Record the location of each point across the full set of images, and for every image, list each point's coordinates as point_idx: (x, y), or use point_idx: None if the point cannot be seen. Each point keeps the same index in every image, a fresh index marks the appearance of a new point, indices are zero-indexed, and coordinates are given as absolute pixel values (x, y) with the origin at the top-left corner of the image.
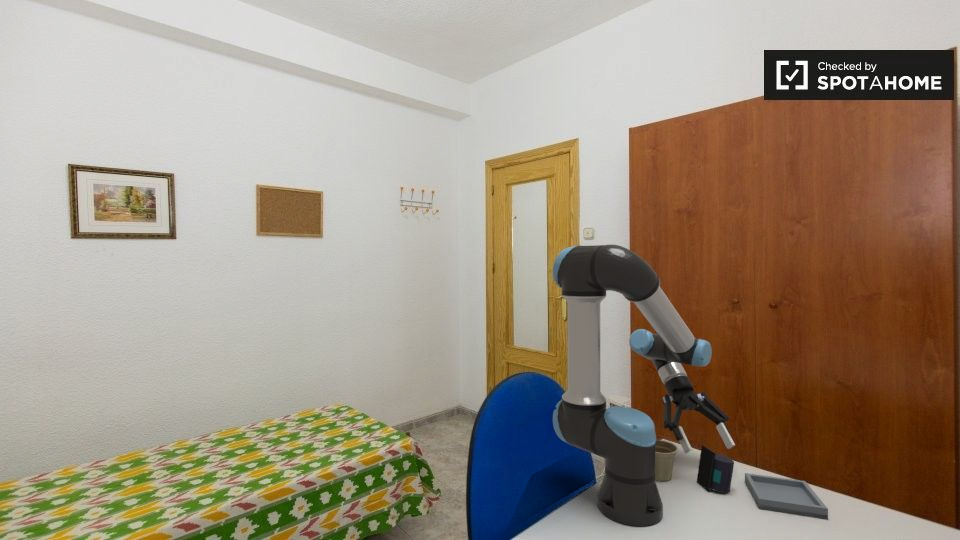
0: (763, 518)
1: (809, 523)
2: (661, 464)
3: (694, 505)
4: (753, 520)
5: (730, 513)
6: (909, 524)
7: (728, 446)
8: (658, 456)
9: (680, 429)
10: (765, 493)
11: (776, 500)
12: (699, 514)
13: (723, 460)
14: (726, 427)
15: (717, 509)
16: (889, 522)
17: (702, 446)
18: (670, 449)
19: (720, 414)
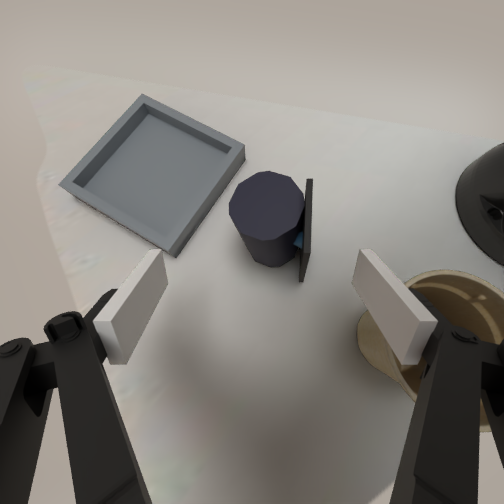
0: (264, 134)
1: (195, 109)
2: (435, 295)
3: (372, 194)
4: (288, 133)
5: (315, 158)
6: (32, 79)
7: (164, 275)
8: (472, 290)
9: (423, 307)
10: (190, 185)
11: (213, 133)
12: (380, 166)
13: (275, 186)
14: (94, 312)
15: (332, 173)
16: (56, 88)
17: (308, 251)
18: (385, 352)
19: (21, 386)
